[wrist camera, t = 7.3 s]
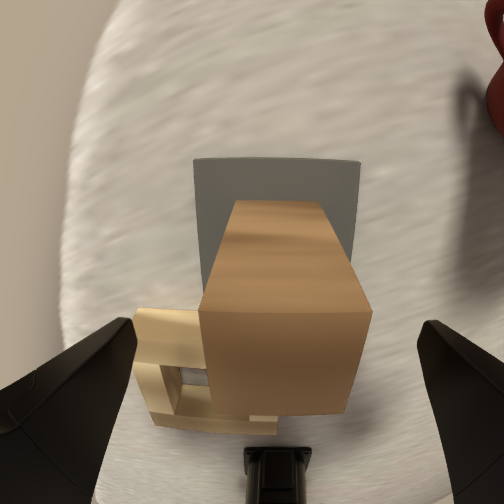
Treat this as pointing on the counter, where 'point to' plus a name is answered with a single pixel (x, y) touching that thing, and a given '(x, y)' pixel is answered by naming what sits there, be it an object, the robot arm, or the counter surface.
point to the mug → (500, 88)
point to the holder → (169, 379)
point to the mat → (272, 194)
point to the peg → (282, 314)
